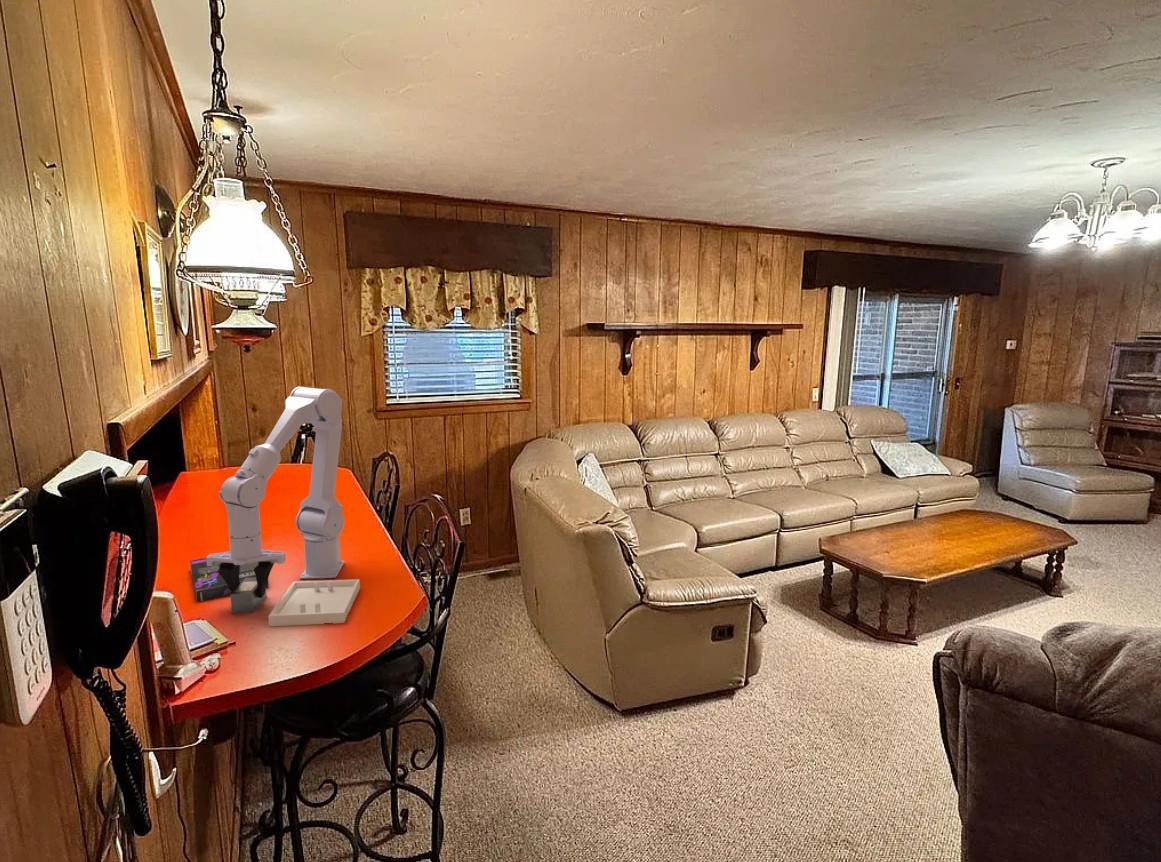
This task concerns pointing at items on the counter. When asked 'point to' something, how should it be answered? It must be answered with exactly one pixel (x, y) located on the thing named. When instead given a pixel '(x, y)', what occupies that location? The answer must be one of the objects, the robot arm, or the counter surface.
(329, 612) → the tray
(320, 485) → the robot arm
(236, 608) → the block
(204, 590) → the box
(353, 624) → the counter surface
